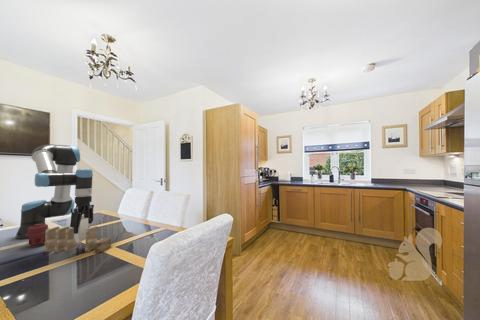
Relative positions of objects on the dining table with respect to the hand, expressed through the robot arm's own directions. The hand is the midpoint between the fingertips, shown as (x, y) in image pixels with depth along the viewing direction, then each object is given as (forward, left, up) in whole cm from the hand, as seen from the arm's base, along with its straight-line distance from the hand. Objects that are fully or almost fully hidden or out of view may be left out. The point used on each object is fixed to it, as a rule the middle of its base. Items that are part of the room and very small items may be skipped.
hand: (81, 236), depth 108 cm
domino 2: (-6, -10, -7) cm, 13 cm away
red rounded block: (-22, -24, -7) cm, 33 cm away
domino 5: (+3, +5, -7) cm, 9 cm away
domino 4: (0, 0, -2) cm, 2 cm away
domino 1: (-8, -14, -7) cm, 18 cm away
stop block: (+6, +10, -7) cm, 14 cm away
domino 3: (-3, -5, -7) cm, 9 cm away
